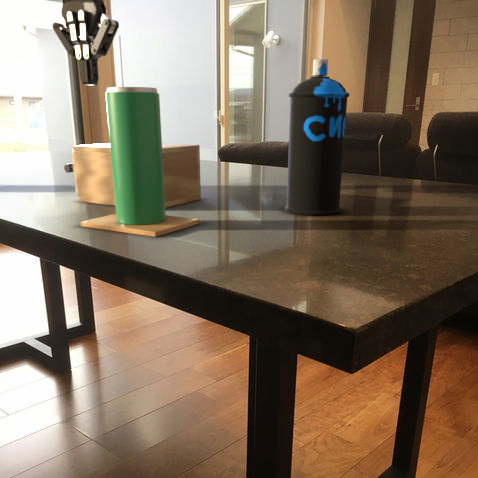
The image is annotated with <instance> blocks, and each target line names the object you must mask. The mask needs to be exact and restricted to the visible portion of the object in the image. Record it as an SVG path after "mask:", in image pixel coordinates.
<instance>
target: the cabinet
mask: <svg viewBox="0 0 478 478" xmlns="http://www.w3.org/2000/svg"><path fill="white" fill-rule="evenodd" d="M200 147H201V145H200V144H188V143H187V144H184V143H163V142H162V157H163V177H164V196H165V209H167V208H170V207H174V206H179V205H183V204H186V203H190V202H195V201H199V200H201V199H202V191H201V190H202V188H201V187H202V186H201V153H200V152H201V151H200V150H201V149H200ZM72 149H73V150H72V151H74V159H75V168H76V177H77V186H78V195H77V196H78V201H79V202H81V203H89V204H99V205H105V206H114V207H115V197H114V185H113V174H112V162H111V151H110V142H106V143H92V144H90V143H89V144H79V145H78V144H77V145H72Z"/></svg>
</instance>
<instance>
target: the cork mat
mask: <svg viewBox="0 0 478 478" xmlns="http://www.w3.org/2000/svg"><path fill="white" fill-rule="evenodd" d="M165 216H166V219H165V221H163V222H160V223H155V224H147V225H128V224H122V223H119V222H117V220H116V213H114V214H113V213H112V214H108V215H104V216H100V217H95V218H91V219H86V220H83V221H80V227H84V228H90V229H97V230H103V231H104V230H105V231H110V232H111V231H112V232H118V233H124V234H125V233H126V234H132V235H139V236H144V237H145V236H146V237H153V238H157V237H161V236H163V235H167V234H170V233H174V232H176V231H181V230H183V229H186V228H187V229H188V228H189V227H192V226H196V225H199V224H200V219H199V218H191V217H183V216H175V215H166V214H165Z"/></svg>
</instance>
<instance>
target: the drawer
mask: <svg viewBox="0 0 478 478" xmlns="http://www.w3.org/2000/svg"><path fill="white" fill-rule="evenodd" d="M70 154H71V161H72V163H65V164H64V166H63V169H64V171H65V172H66V174H69V173H73V179H74V180H73V181H74V188H75V189H74V190H75V196H79V195H78V186H77V177H76V168H75V159H74V150H72V151H70Z"/></svg>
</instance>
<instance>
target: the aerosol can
mask: <svg viewBox="0 0 478 478" xmlns="http://www.w3.org/2000/svg"><path fill="white" fill-rule="evenodd" d="M328 70H329V59H328V58H314V59H313V64H312V76H310V78H307V79H305V80H303V81H301V82H299V83H298V84H297V85H295V87H294V88H293V89H292V90H291V91H292V92H289V93H288V97H289V98H290V100H289V104H290V105H289V126H288V127H289V128H288V129H289V132H288V161H287V188H286V206H285V207H284V210H285V212H287V213H290V214H295V215H302V216H331V215H336V214H339V213H340V212H341V211H342V207H340V203H341V191H342V176H343V162H344V150H345V149H344V148H345V137H346V122H347V110H348V109H347V108H348V107H347V106H348V98H349V97H350V93H349V92H347V90H346V88H345V87H344V85H343V84H342V83H341V82H339V81H337V80H335V79H332V78H330V76H328V72H329V71H328Z"/></svg>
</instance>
